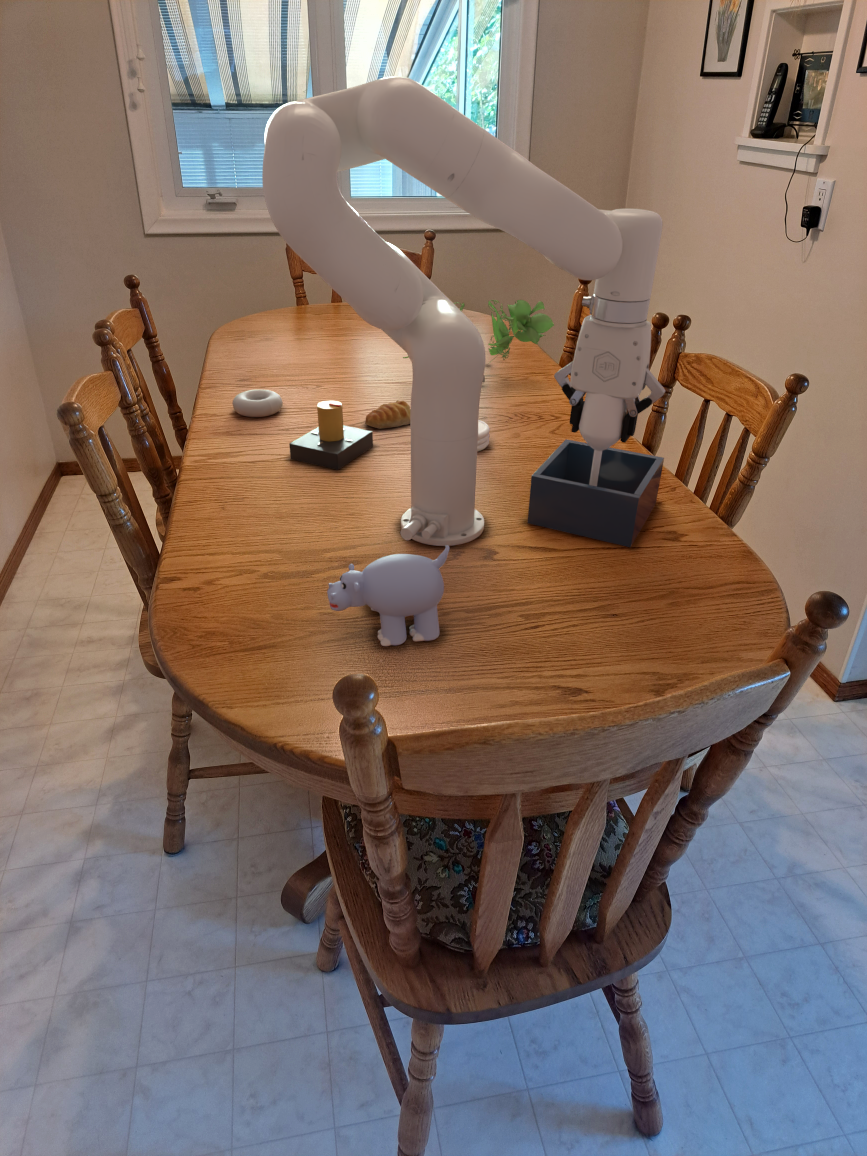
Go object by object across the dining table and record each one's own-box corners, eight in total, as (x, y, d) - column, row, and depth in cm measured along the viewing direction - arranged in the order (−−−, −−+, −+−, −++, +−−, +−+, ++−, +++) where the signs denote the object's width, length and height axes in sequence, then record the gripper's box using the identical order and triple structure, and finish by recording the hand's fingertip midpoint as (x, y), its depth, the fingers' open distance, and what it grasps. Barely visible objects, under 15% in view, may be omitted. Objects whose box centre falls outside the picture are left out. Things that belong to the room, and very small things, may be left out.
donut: (254, 400, 164) (222, 414, 157) (253, 384, 163) (220, 397, 155) (293, 408, 160) (262, 422, 153) (291, 392, 159) (260, 405, 151)
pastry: (377, 433, 149) (376, 414, 147) (357, 423, 153) (357, 405, 151) (416, 422, 154) (416, 404, 152) (396, 413, 158) (395, 395, 156)
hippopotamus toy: (325, 603, 100) (320, 539, 95) (439, 590, 103) (440, 526, 98) (335, 654, 91) (330, 585, 86) (459, 638, 94) (462, 570, 89)
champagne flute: (619, 514, 120) (647, 358, 107) (582, 520, 117) (605, 362, 105) (596, 495, 125) (620, 345, 112) (559, 501, 123) (579, 349, 110)
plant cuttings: (389, 410, 179) (411, 376, 158) (376, 339, 180) (396, 295, 159) (528, 396, 189) (566, 362, 167) (515, 328, 190) (551, 286, 168)
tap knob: (314, 438, 138) (311, 404, 135) (327, 430, 142) (325, 397, 138) (335, 443, 137) (333, 408, 133) (348, 434, 140) (346, 401, 137)
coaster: (494, 436, 148) (495, 419, 146) (482, 457, 140) (483, 438, 138) (443, 431, 150) (443, 413, 149) (429, 450, 142) (429, 432, 140)
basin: (630, 547, 113) (639, 498, 109) (527, 523, 119) (531, 475, 114) (655, 503, 125) (664, 457, 121) (560, 483, 131) (565, 439, 127)
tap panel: (338, 470, 134) (337, 453, 133) (290, 459, 138) (288, 442, 137) (373, 446, 144) (372, 430, 142) (327, 436, 147) (326, 420, 146)
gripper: (549, 306, 106) (536, 431, 115) (678, 324, 99) (653, 455, 109) (567, 296, 111) (553, 416, 121) (690, 313, 105) (665, 437, 114)
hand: (600, 433), depth 115 cm, fingers closed on champagne flute, 6 cm apart
